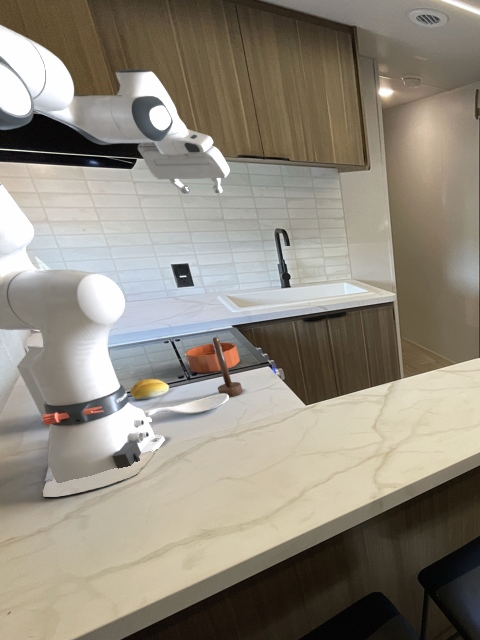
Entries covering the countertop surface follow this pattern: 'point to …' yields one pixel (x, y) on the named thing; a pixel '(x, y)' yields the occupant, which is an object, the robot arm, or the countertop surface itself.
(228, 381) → the wooden masher
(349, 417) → the countertop surface
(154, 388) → the bread roll
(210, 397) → the spoon
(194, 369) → the bowl
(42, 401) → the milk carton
